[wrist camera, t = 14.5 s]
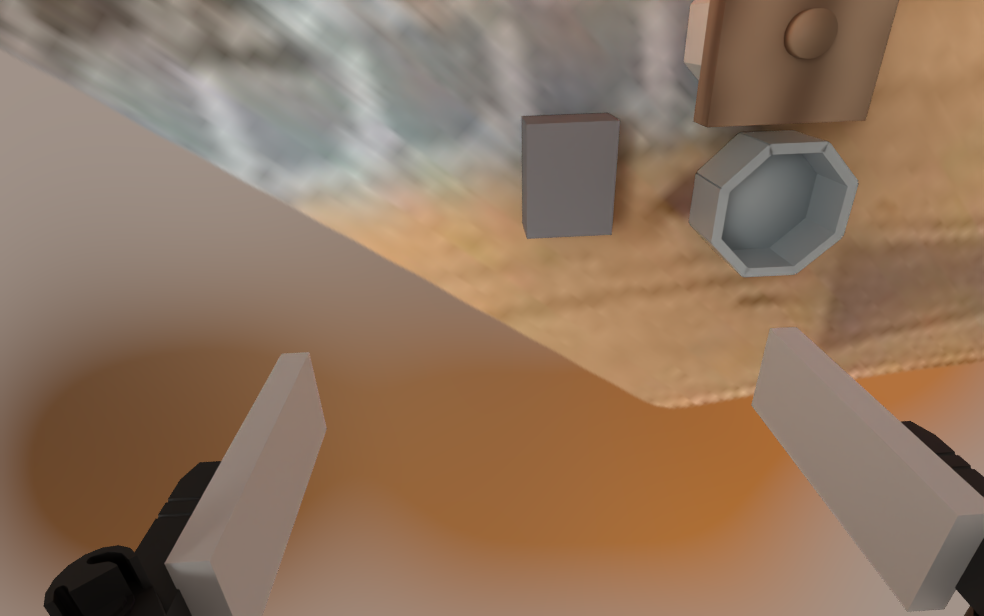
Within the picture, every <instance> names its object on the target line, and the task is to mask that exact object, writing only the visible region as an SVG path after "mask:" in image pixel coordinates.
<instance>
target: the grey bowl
mask: <svg viewBox="0 0 984 616" xmlns="http://www.w3.org/2000/svg"><path fill="white" fill-rule="evenodd" d="M697 173H698V174H696V175H695V182H694V189H693V196H692V203H691V209H690V216H689V223H690V226H691V227H692V228H693V229H694V230H695V231H696V232H697V233H698V234H699V235H700V236H701V237H702V238H703V239H704V240H705V242H706V243H707V244H708V245H709V246H710V247H711V248H712V249H713V250H714V251H715V252H716V253H717V254H718V255H719V256H720V257H721V258H722V259H723V260H724V261H725V262H726V263H728V264H729V265H730V266H731V267H732V268H733V269H734V270H735V271H736V272H737V273H739V274H740V275H741V276H743V277H757V276H778V275H795V273H796V274H797V273H798V272H799V271H801V270H802V269H803V268H805V267H806V266H807V265H808V264H810V263H811V262H812V261H813V260H815V259H816V258H817V257H818V256H820V255H821V254H822V253H824V252H825V251H826V250H827V249H829V248H830V247H831V246H832V245H834V244H835V243H836V242H837V241H839V240H840V239H841V238H842V237H841V236H844V232H845V229H846V225H847V222H848V218H849V215H850V211H851V208H852V205H853V201H854V198H855V194H856V191H857V187H858V184H859V183H857V182H858V180H857V179H856V177H855V176H854V175H853V173H852V172H851V170H850V169H849V168H848V166H847V165H846V164H845V162H844V161H843V160H842V158H841V157H840V155H839V154H838V153H837V151H836V150H835V149H834V147H833V146H832V145H831V143H830V142H828V141H825V140H822V139H819V138H816V137H813V136H809V135H806V134H803V133H800V132H797V131H794V130H782V131H759V132H740V133H738V134H737V135H736V136H735V137H734V138H733V139H732V140H731V141H730V142H729V143H727V144H726V145H725V146H724V147H723V148H722V149H721V150H720V151H719V152H718V153H717V154H716V155H714V156H713V157H712V158H711V159H710V160H709V161H708V162H707V163H706V164H705V165H704V166H703V167H701V168H700V169H699V170H698V171H697Z"/></svg>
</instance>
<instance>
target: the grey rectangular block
mask: <svg viewBox="0 0 984 616" xmlns="http://www.w3.org/2000/svg"><path fill="white" fill-rule="evenodd" d="M619 129H620V120H619V119H617V118H615V117H614V116H612V115H611V114H609V113H588V114H565V115H541V116H522V223H523V227H524V230H525V234H526V237H527V239H531V238H552V237H574V236H595V235H612V223H613V209H614V196H615V183H616V169H617V156H618V143H619Z"/></svg>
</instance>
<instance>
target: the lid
mask: <svg viewBox="0 0 984 616" xmlns="http://www.w3.org/2000/svg"><path fill="white" fill-rule="evenodd" d="M898 2H899V0H710V3H709V10H708V18H707V25H706V32H705V40H704V47H703V55H702V62H701V69H700V77H699V84H698V91H697V99H696V106H695V113H694V121H693V122H696V123H698V124H701V125H703V126H705V127H725V126H749V125H772V124H795V123H819V122H842V121H865V120H866V117H867V113H868V110H869V106H870V102H871V99H872V95H873V92H874V88H875V84H876V81H877V77H878V74H879V70H880V67H881V63H882V59H883V56H884V52H885V49H886V45H887V41H888V38H889V34H890V31H891V27H892V24H893V20H894V16H895V13H896V9H897V6H898Z"/></svg>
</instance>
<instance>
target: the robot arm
mask: <svg viewBox="0 0 984 616" xmlns="http://www.w3.org/2000/svg"><path fill="white" fill-rule="evenodd" d="M752 406H753V408H754V409H755V410H756V412H757V413H758V414H759V416H760V417H761V418H762V420H763V421H764V422H765V424H766V425H767V426H768V428H769V429H770V430H771V431H772V433H773V434H774V436H775V437H776V438H777V440H778V441H779V442H780V443H781V445H782V446H783V448H784V449H785V450H786V452H787V453H788V454H789V456H790V457H791V458H792V459H793V461H794V462H795V464H796V465H797V466H798V468H799V469H800V470H801V472H802V473H803V474H804V476H805V477H806V478H807V480H808V481H809V482H810V484H811V485H812V486H813V487H814V489H815V490H816V491H817V493H818V494H819V495H820V497H821V498H822V499H823V501H824V502H825V503H826V505H827V506H828V507H829V509H830V510H831V511H832V513H833V514H834V515H835V517H836V518H837V519H838V521H839V522H840V523H841V525H842V526H843V527H844V529H845V530H846V531H847V533H848V534H849V535H850V536H851V538H852V539H853V541H854V542H855V543H856V544H857V546H858V547H859V548H860V550H861V551H862V552H863V554H864V555H865V556H866V558H867V559H868V560H869V562H870V563H871V564H872V566H873V567H874V568H875V570H876V571H877V572H878V574H879V575H880V576H881V577H882V579H883V580H884V582H885V583H886V584H887V586H888V587H889V588H890V590H891V591H892V592H893V594H894V595H895V596H896V598H897V599H898V600H899V602H900V603H901V604H902V606H903V607H904V608H905V610H906V611H907V612H910V611H925V610H941V609H945V607H946V606H947V604H948V602H949V600H950V599H951V597H952V595H953V594H954V592H955V590H957V591H958V592H959V593H960V594H961V595H962V597H963V598H964V599H965V600H966V601H967V602H968V603H969V605H970V607H969V608H968V610H967V612H966V613H965V615H964V616H984V477H983V476H982V475H981V474H980V473H978V472H977V471H976V470H975V469H971V466H970V465H969V464H968V463H967V462H966V461H965V460H964V459H962V458H961V457H960V456H958V455H955V452H954V451H953V450H952V449H951V448H950V447H949V446H947V445H946V444H945V443H944V442H943V441H942V440H941V439H939V438H938V437H937V436H936V435H934V434H933V433H931V432H929V431H927V430H925V429H924V428H922V427H920V426H918V425H917V424H915V423H913V422H911V421H903V422H900V421H899V420H898V419H897V418H896V417H894V416H893V415H892V414H891V413H890V412H889V411H888V410H887V409H886V408H884V406H882V405H881V404H880V403H879V402H878V401H877V400H876V399H875V398H874V397H873V396H871V395H870V394H869V393H868V392H867V391H866V390H865V389H864V388H863V387H862V386H861V385H859V384H858V383H857V382H856V381H855V380H854V379H853V378H852V377H851V376H850V375H848V374H847V373H846V372H845V371H844V370H843V369H842V368H841V367H840V366H839V365H837V364H836V363H835V362H834V361H833V360H832V359H831V358H830V357H829V356H828V355H827V354H825V353H824V352H823V351H822V350H821V349H820V348H819V347H818V346H817V345H816V344H814V343H813V342H812V341H811V340H810V339H809V338H808V337H807V336H806V335H805V334H803V333H802V332H801V331H800V330H799V329H798V328H797V327H787V328H770V331H769V335H768V339H767V343H766V347H765V351H764V355H763V360H762V364H761V368H760V372H759V376H758V380H757V384H756V389H755V393H754V397H753V401H752ZM325 432H326V424H325V420H324V415H323V411H322V406H321V402H320V398H319V394H318V389H317V384H316V380H315V376H314V371H313V367H312V363H311V358H310V354H309V352H305V353H286V354H281V356H280V358H279V360H278V361H277V363H276V365H275V367H274V368H273V370H272V372H271V374H270V376H269V377H268V379H267V381H266V383H265V385H264V386H263V388H262V390H261V392H260V393H259V395H258V397H257V399H256V401H255V402H254V404H253V406H252V408H251V409H250V412H249V413H248V415H247V417H246V419H245V420H244V422H243V424H242V426H241V427H240V429H239V431H238V433H237V435H236V436H235V438H234V440H233V442H232V444H231V446H230V447H229V449H228V451H227V452H226V454H225V456H224V458H223V460H222V461H216V462H200V463H199V464H197V465H196V466H195V467H194V468H193V469H192V470H191V471H189V472H188V473H187V474H186V475H185V476H184V477H183V478H182V479H180V481H179V482H178V484H177V486H176V487H175V489H174V490H173V492H172V494H171V495H170V497H169V498H168V503H165V505H164V506H163V508H162V510H161V511H160V513H159V514H158V516H159V517H158V519H155V521H154V522H153V524H152V526H151V527H150V529H149V530H148V532H147V534H146V535H145V537H144V538H143V540H142V541H141V543H140V545H139V546H138V548H137V549H136V551H135V553H134V552H133V550H132V549H131V548H128V547H124V546H119V545H117V546H111V547H104V548H101V549H98V550H95V551H93V552H91V553H88V554H85V555H84V556H82V557H81V558H79V559H78V560H76V561H75V562H73V563H71V564H70V565H68V566H67V567H66V568H65V569H64V570H63V571H62V572H61V573H60V574H59V575H58V576H57V577H56V578H55V579H54V580H53V582H52V584H51V585H50V587H49V588H48V590H47V591H46V593H45V600H44V607H45V609H46V610H47V612H48V613H49V615H50V616H262V615H263V612H264V609H265V606H266V603H267V601H268V597H269V595H270V592H271V589H272V586H273V583H274V580H275V577H276V574H277V571H278V569H279V565H280V563H281V560H282V557H283V554H284V551H285V548H286V545H287V542H288V540H289V537H290V534H291V530H292V528H293V525H294V522H295V519H296V516H297V513H298V510H299V508H300V505H301V502H302V499H303V496H304V493H305V490H306V487H307V484H308V481H309V478H310V475H311V473H312V470H313V467H314V464H315V461H316V458H317V455H318V452H319V449H320V446H321V443H322V441H323V438H324V435H325Z"/></svg>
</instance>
